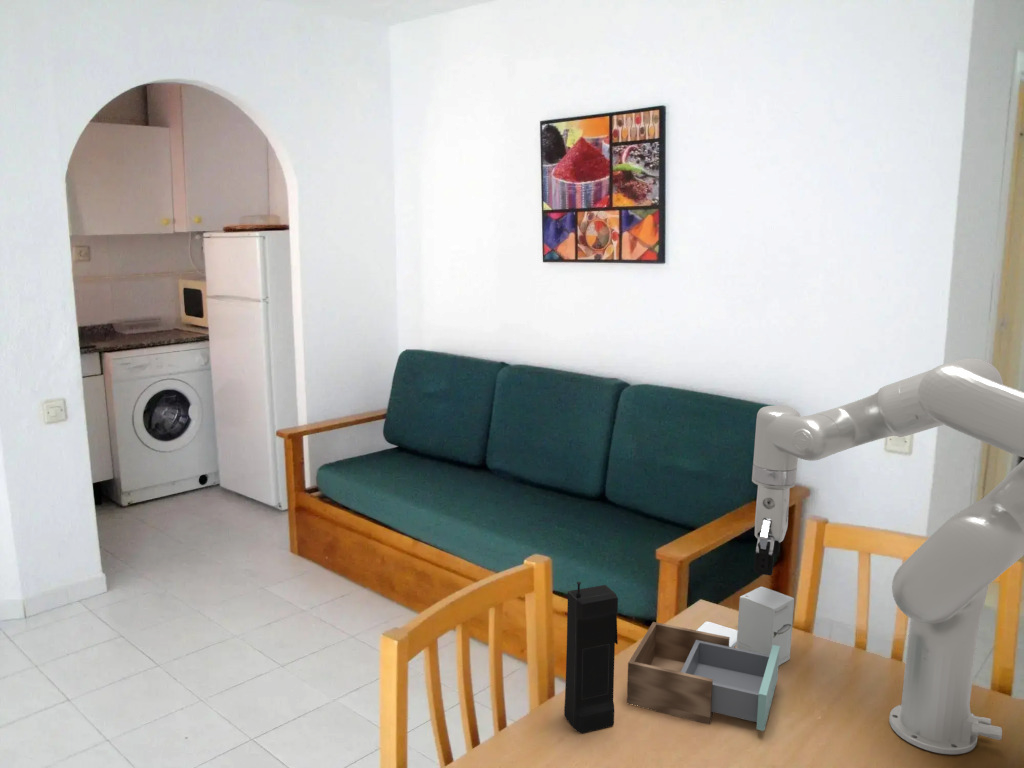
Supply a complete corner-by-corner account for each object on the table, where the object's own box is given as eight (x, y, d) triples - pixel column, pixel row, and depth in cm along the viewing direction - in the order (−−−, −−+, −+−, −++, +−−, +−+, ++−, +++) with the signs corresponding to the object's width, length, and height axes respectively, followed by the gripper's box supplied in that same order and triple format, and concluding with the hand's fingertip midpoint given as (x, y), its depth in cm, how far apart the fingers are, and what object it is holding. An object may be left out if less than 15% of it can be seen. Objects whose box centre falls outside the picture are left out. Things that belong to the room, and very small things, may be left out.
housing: (727, 675, 148) (729, 637, 146) (709, 724, 133) (711, 681, 132) (651, 659, 154) (653, 621, 152) (626, 703, 139) (628, 662, 138)
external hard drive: (743, 639, 162) (718, 665, 152) (705, 627, 167) (678, 652, 157) (744, 632, 162) (718, 657, 152) (705, 620, 167) (678, 644, 157)
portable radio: (604, 705, 139) (607, 566, 134) (621, 724, 133) (625, 581, 129) (561, 714, 136) (564, 573, 131) (577, 735, 130) (580, 588, 126)
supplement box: (769, 673, 149) (773, 609, 146) (734, 657, 154) (738, 595, 152) (791, 660, 153) (795, 597, 151) (756, 645, 159) (760, 584, 157)
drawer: (777, 678, 144) (779, 646, 143) (764, 731, 129) (766, 695, 128) (696, 661, 150) (698, 629, 149) (674, 709, 135) (676, 674, 134)
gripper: (790, 491, 138) (782, 586, 141) (800, 465, 153) (793, 550, 157) (745, 485, 141) (738, 577, 144) (759, 459, 156) (752, 543, 160)
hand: (766, 563), depth 151 cm, fingers open, 9 cm apart
